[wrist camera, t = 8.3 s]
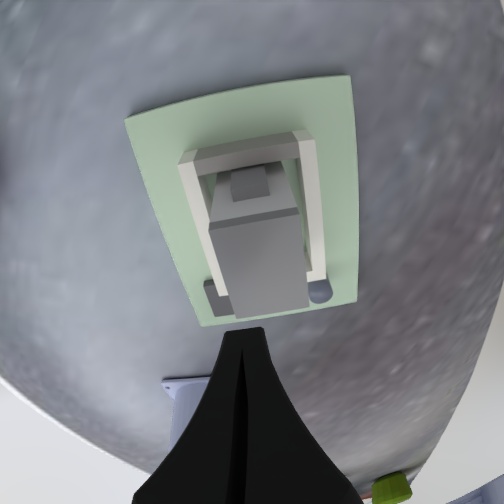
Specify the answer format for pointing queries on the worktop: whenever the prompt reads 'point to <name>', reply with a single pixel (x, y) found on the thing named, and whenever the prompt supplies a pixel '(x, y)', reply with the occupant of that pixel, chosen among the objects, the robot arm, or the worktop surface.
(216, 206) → the plug
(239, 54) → the worktop surface
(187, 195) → the board
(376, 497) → the apple
